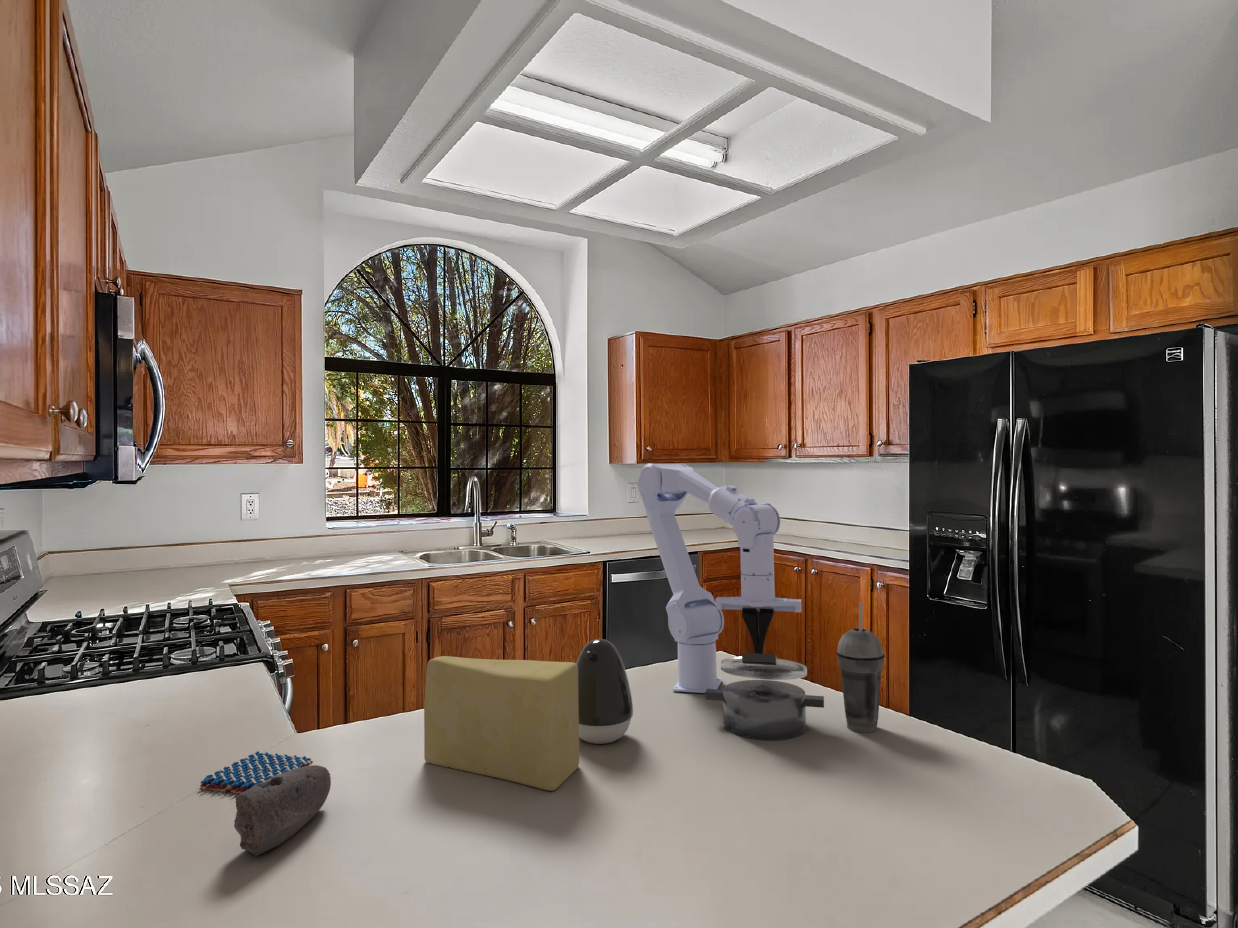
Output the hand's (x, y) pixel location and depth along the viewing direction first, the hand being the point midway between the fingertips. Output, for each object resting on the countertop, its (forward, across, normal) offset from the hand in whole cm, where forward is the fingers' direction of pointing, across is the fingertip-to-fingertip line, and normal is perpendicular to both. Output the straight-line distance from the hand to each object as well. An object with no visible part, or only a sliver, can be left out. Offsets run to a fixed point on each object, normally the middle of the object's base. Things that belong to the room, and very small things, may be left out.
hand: (759, 652), depth 124 cm
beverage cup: (+10, +16, -6) cm, 20 cm away
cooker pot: (+10, +1, -9) cm, 13 cm away
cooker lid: (+1, +1, -10) cm, 10 cm away
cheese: (+10, -33, -36) cm, 50 cm away
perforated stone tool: (+10, -48, -58) cm, 76 cm away
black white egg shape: (+10, -22, -21) cm, 32 cm away
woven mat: (+10, -63, -46) cm, 79 cm away
